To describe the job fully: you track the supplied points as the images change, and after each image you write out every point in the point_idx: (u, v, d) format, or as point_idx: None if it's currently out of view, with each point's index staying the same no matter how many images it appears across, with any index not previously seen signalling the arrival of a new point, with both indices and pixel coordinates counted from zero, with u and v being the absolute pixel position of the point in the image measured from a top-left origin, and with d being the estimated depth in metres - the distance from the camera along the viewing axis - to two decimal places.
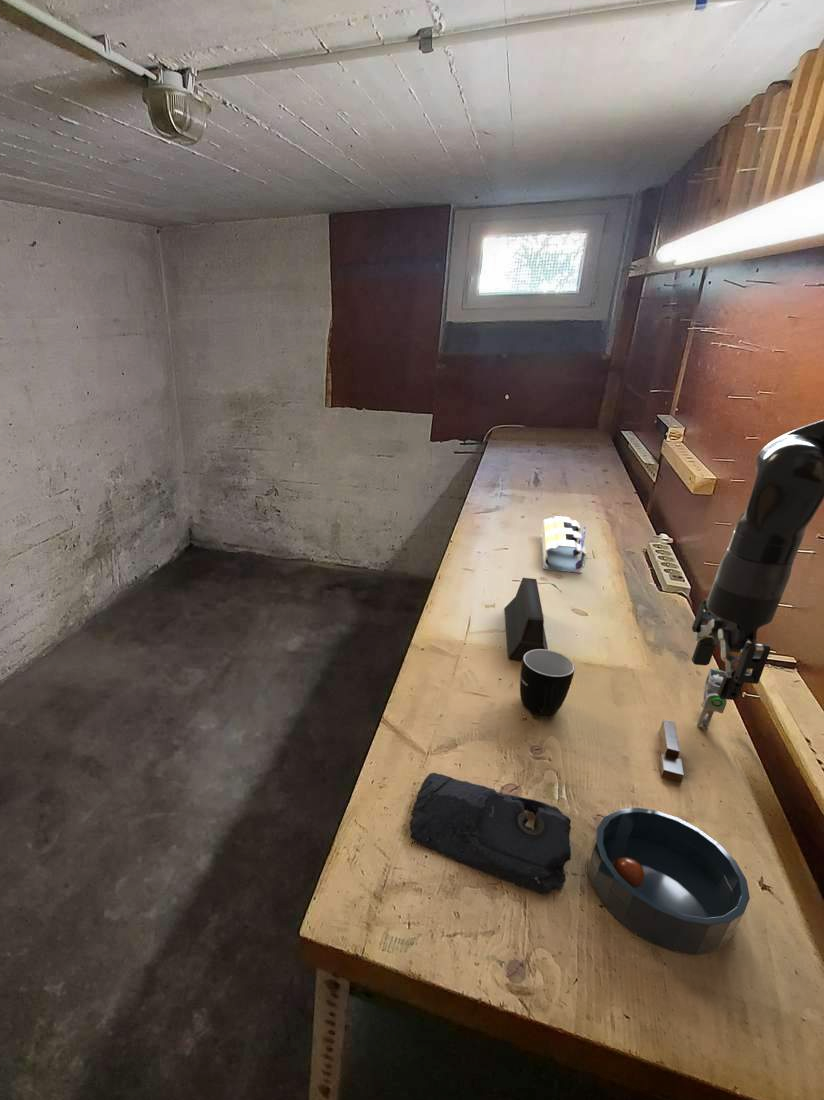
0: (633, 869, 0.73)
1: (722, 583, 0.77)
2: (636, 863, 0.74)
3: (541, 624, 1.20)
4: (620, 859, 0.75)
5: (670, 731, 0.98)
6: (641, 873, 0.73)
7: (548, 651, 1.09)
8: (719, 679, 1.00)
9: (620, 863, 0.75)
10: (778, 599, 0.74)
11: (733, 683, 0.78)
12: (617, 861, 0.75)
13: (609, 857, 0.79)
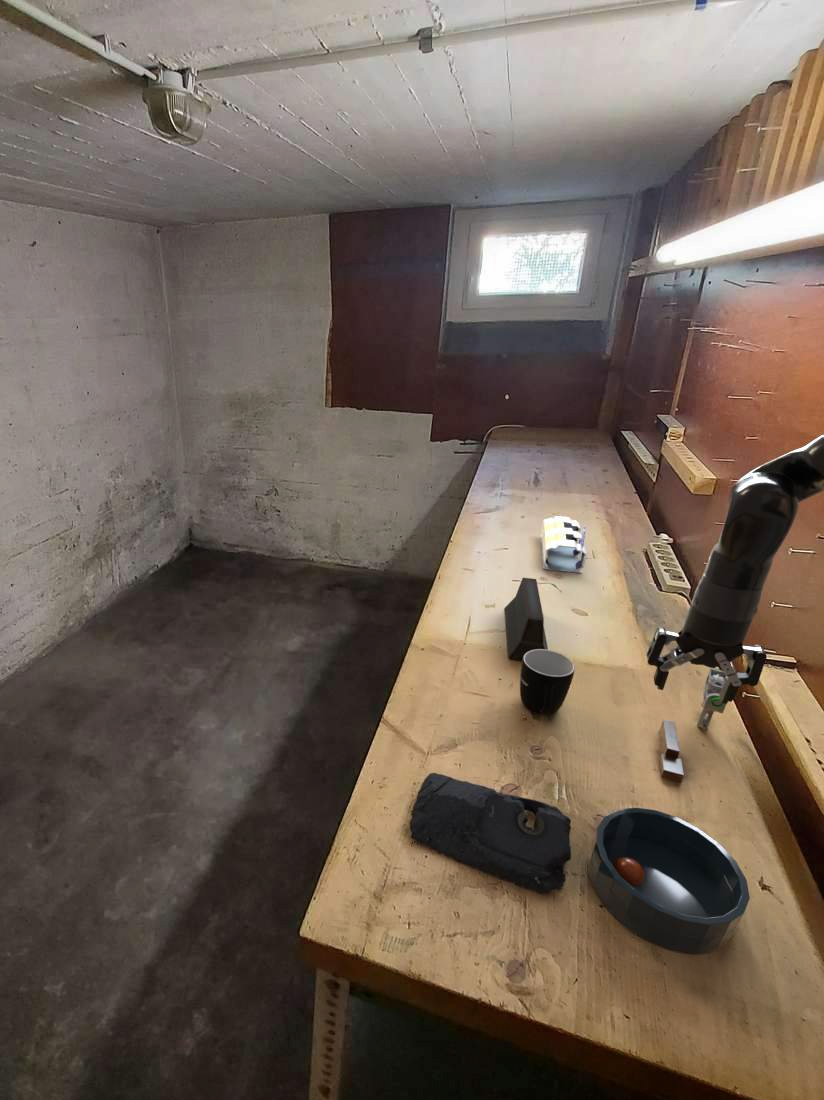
0: (633, 869, 0.73)
1: (735, 617, 0.80)
2: (636, 863, 0.74)
3: (541, 624, 1.20)
4: (620, 859, 0.75)
5: (670, 731, 0.98)
6: (641, 873, 0.73)
7: (548, 651, 1.09)
8: (719, 679, 1.00)
9: (620, 863, 0.75)
10: None
11: (738, 687, 0.86)
12: (617, 861, 0.75)
13: (609, 857, 0.79)
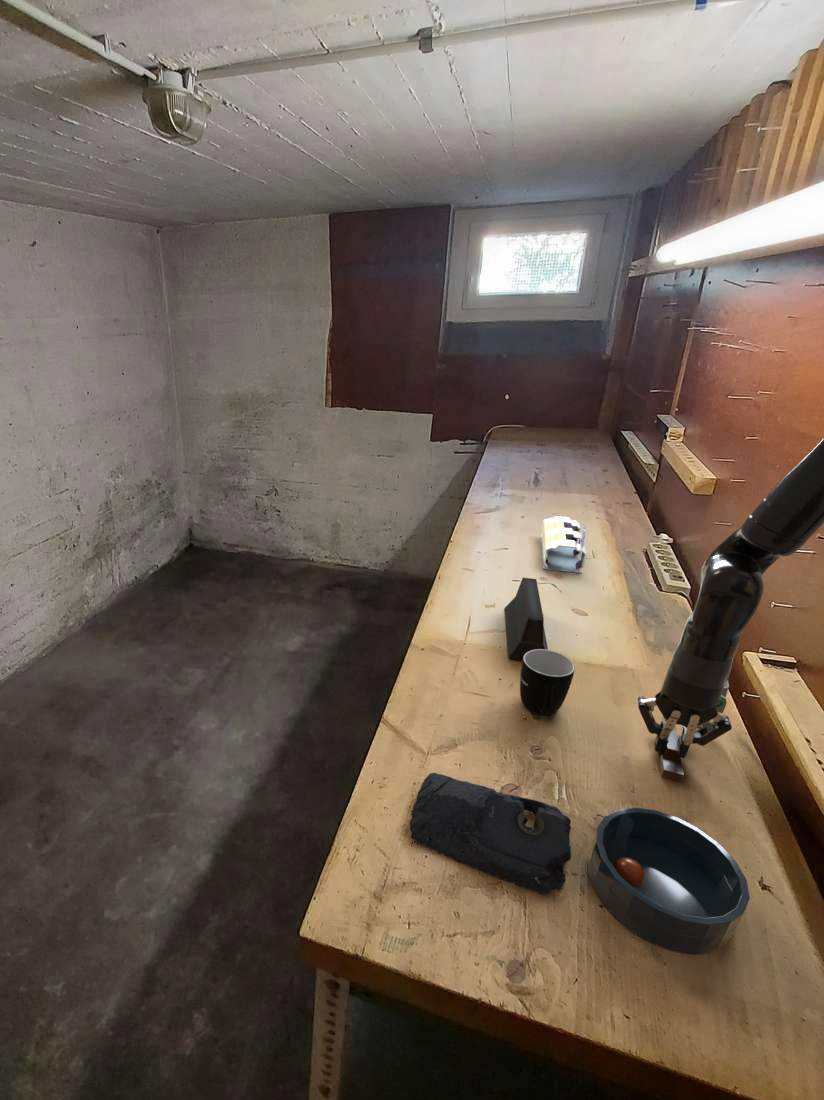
0: (633, 869, 0.73)
1: (708, 685, 0.86)
2: (636, 863, 0.74)
3: (541, 624, 1.20)
4: (620, 859, 0.75)
5: None
6: (641, 873, 0.73)
7: (548, 651, 1.09)
8: None
9: (620, 863, 0.75)
10: None
11: None
12: (617, 861, 0.75)
13: (609, 857, 0.79)
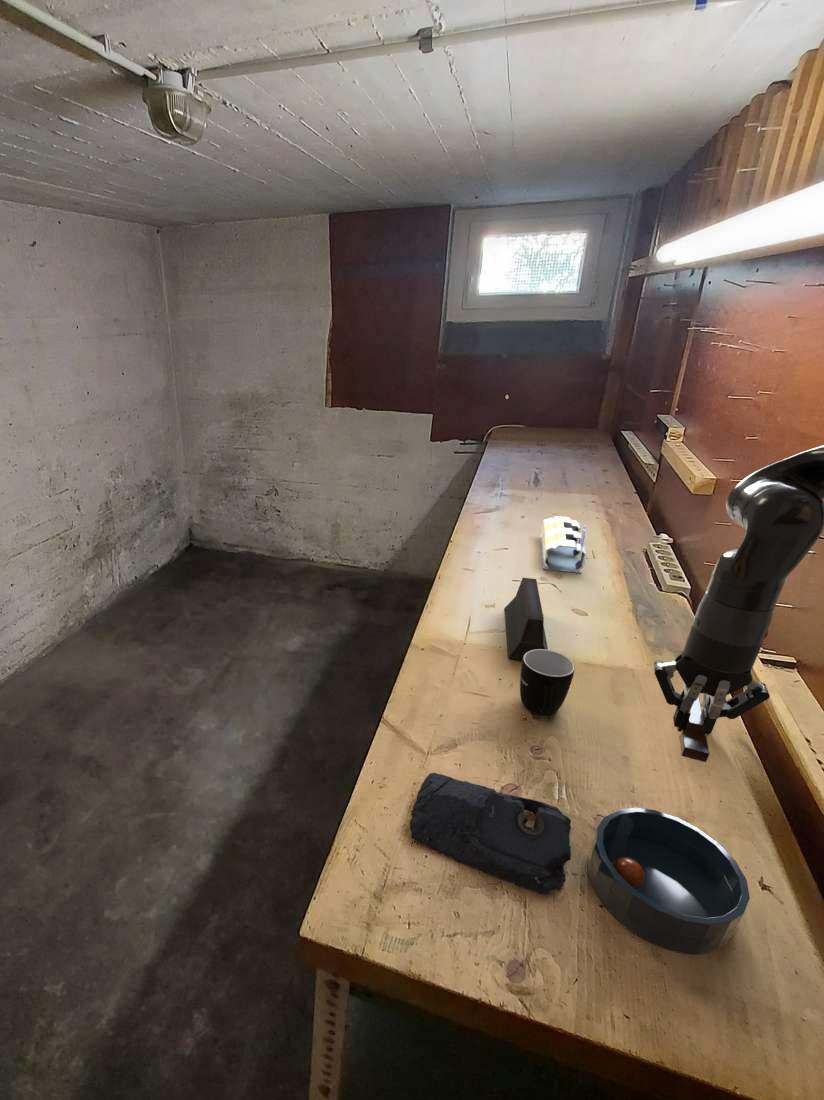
0: (633, 869, 0.73)
1: (742, 642, 0.70)
2: (636, 863, 0.74)
3: (541, 624, 1.20)
4: (620, 859, 0.75)
5: None
6: (641, 873, 0.73)
7: (548, 651, 1.09)
8: None
9: (620, 863, 0.75)
10: None
11: (715, 719, 0.78)
12: (617, 861, 0.75)
13: (609, 857, 0.79)
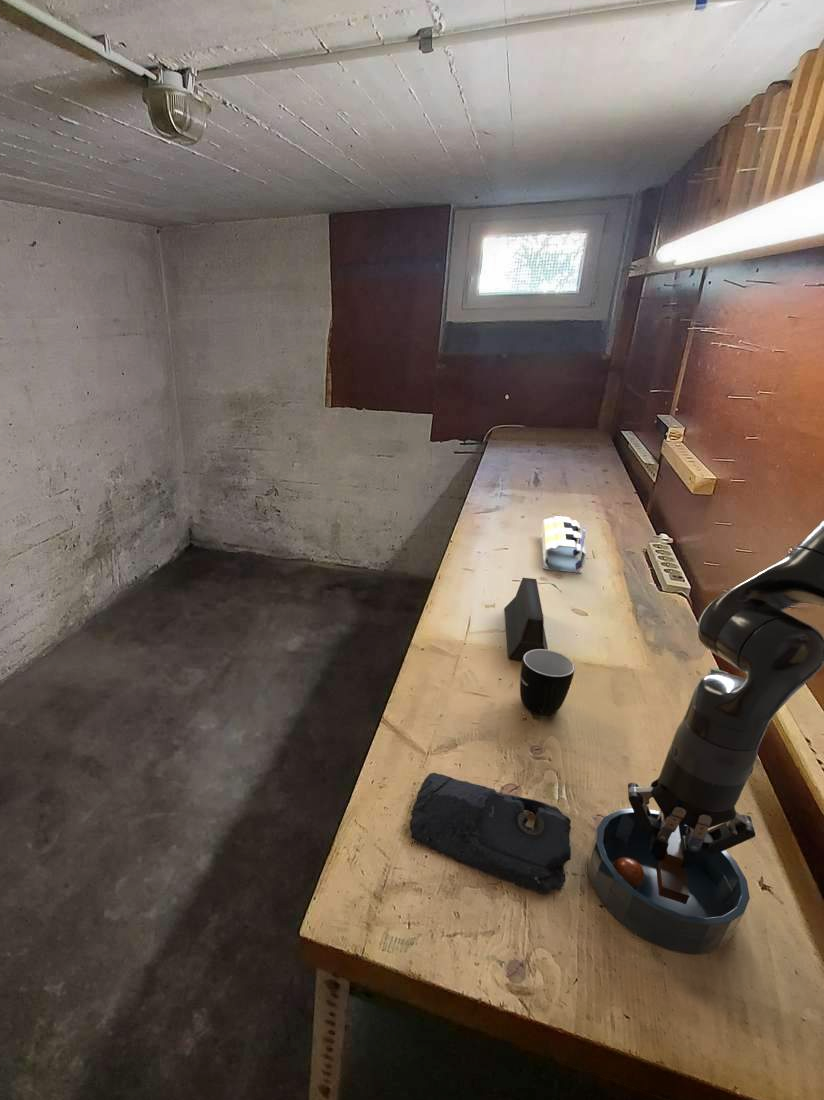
0: (633, 869, 0.73)
1: (724, 781, 0.62)
2: (636, 863, 0.74)
3: (541, 624, 1.20)
4: (620, 859, 0.75)
5: None
6: (641, 873, 0.73)
7: (548, 651, 1.09)
8: None
9: (620, 863, 0.75)
10: None
11: None
12: (617, 861, 0.75)
13: (609, 857, 0.79)
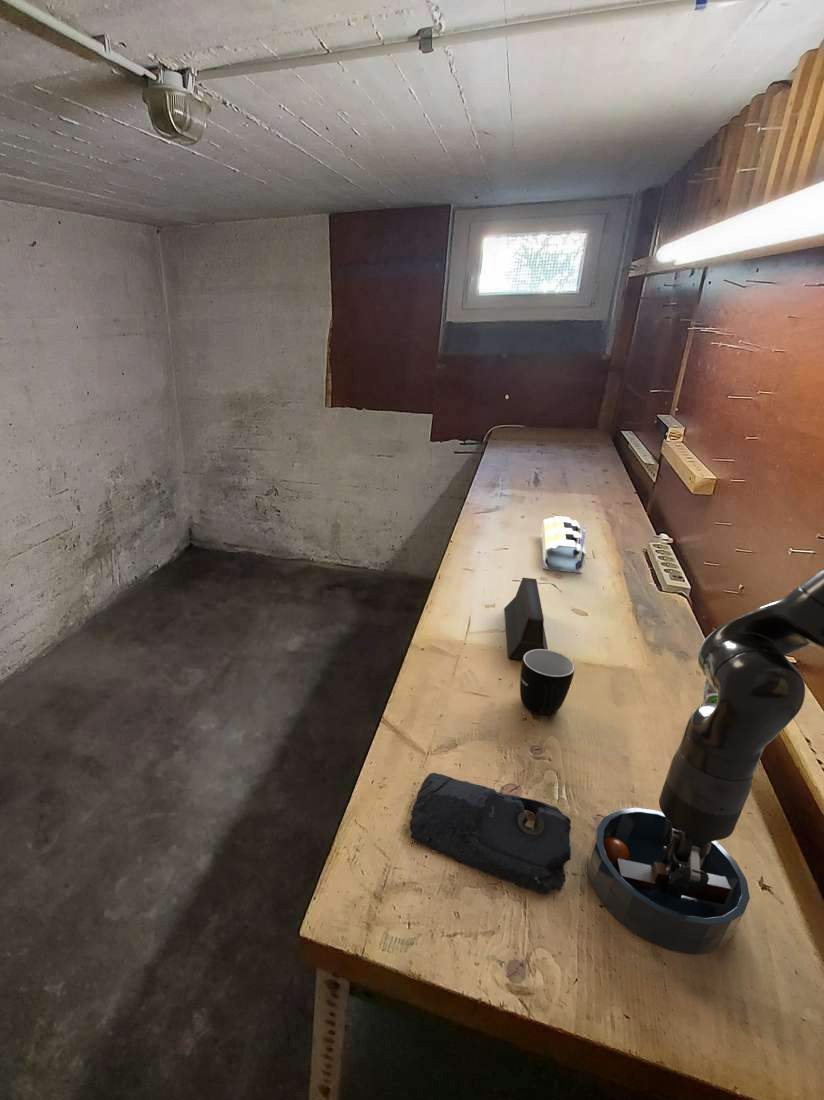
0: (605, 841, 0.78)
1: (670, 781, 0.67)
2: (605, 839, 0.79)
3: (541, 624, 1.20)
4: None
5: None
6: (612, 838, 0.78)
7: (548, 651, 1.09)
8: None
9: None
10: (732, 816, 0.63)
11: None
12: None
13: None
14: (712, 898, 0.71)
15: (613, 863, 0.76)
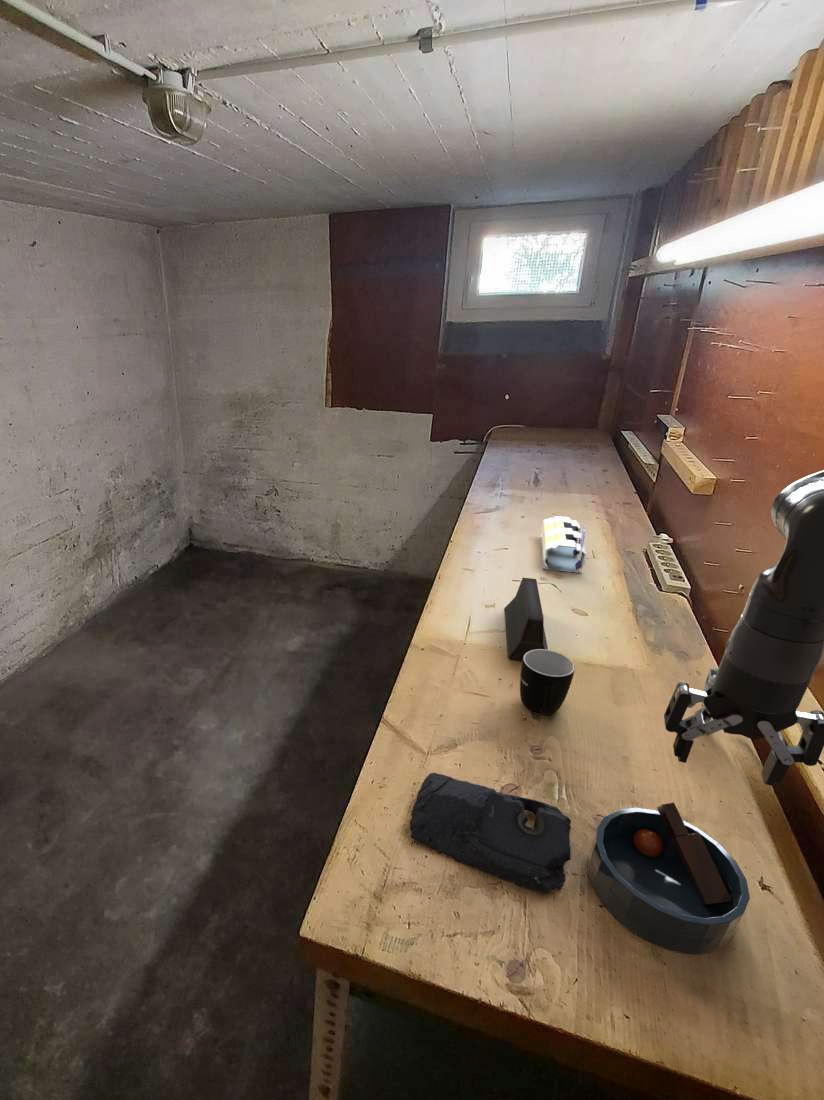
0: (650, 838, 0.77)
1: None
2: (643, 844, 0.78)
3: (541, 624, 1.20)
4: (657, 853, 0.77)
5: None
6: (641, 834, 0.78)
7: (548, 651, 1.09)
8: None
9: (659, 848, 0.77)
10: (737, 670, 0.61)
11: None
12: (659, 852, 0.77)
13: (609, 857, 0.79)
14: (707, 891, 0.72)
15: None
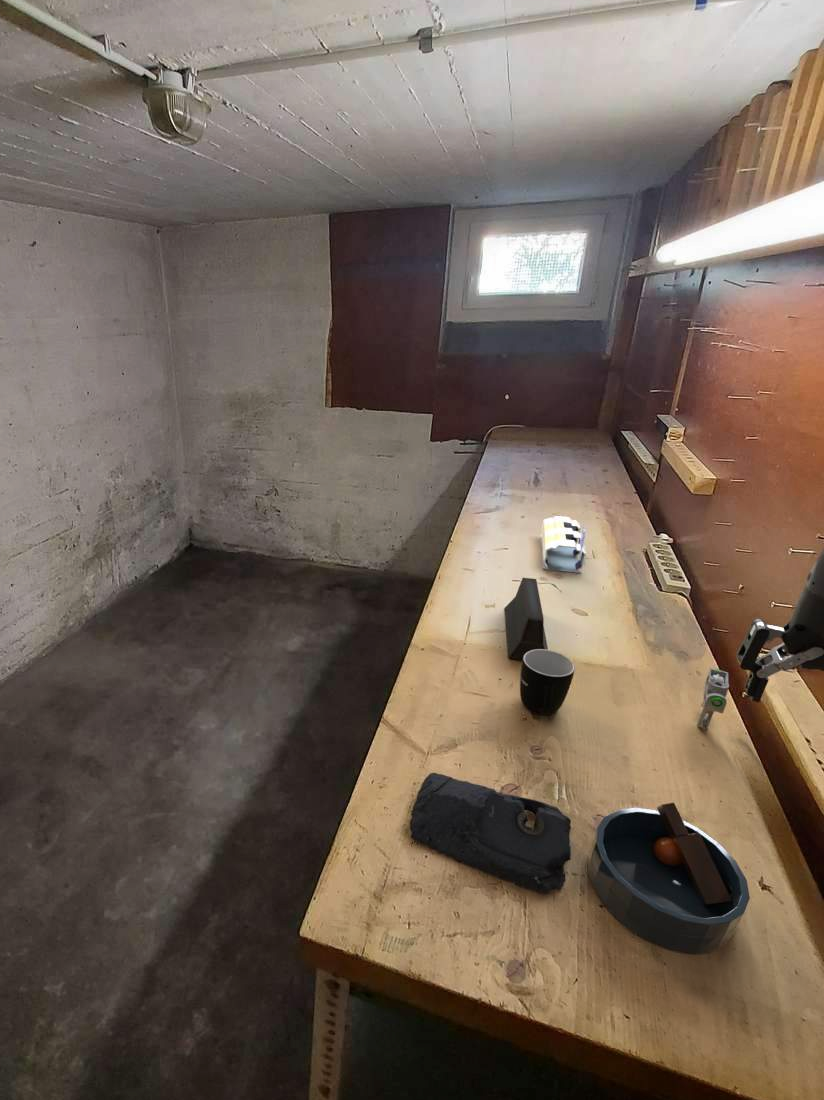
0: None
1: None
2: (675, 858, 0.76)
3: (541, 624, 1.20)
4: (669, 865, 0.77)
5: None
6: None
7: (548, 651, 1.09)
8: (719, 679, 1.00)
9: (674, 865, 0.77)
10: (821, 599, 0.61)
11: (750, 672, 0.69)
12: None
13: (609, 857, 0.79)
14: (707, 891, 0.72)
15: None
